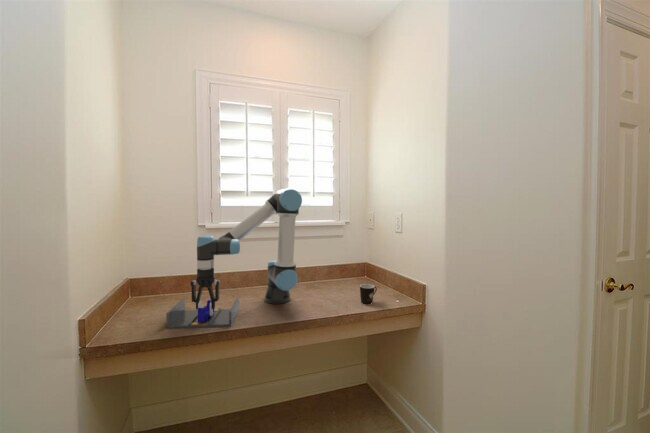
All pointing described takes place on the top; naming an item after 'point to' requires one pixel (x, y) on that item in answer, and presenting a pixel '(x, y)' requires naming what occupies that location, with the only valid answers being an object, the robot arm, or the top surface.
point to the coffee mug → (367, 293)
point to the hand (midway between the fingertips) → (205, 315)
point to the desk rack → (190, 317)
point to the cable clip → (204, 312)
